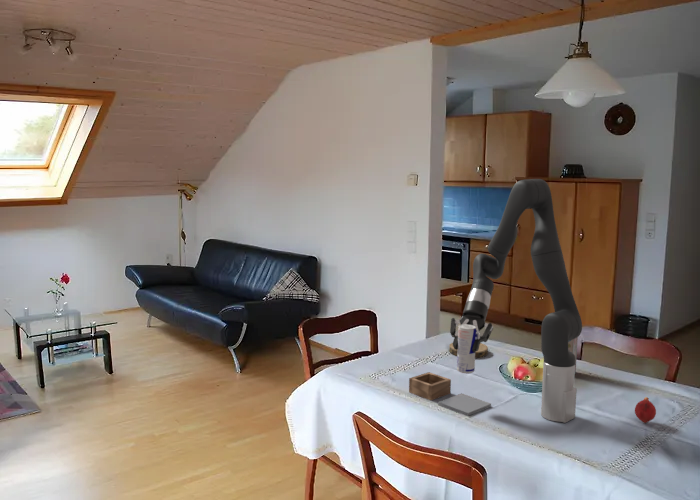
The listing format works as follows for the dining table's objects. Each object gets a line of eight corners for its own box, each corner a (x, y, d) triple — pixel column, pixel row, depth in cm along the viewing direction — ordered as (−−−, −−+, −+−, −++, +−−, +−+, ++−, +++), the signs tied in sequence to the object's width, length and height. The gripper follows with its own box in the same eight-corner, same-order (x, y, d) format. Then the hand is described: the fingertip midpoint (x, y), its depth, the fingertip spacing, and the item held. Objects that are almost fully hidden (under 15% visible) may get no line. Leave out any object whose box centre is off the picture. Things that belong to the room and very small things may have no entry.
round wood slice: (479, 361, 244) (479, 354, 244) (442, 354, 253) (443, 347, 253) (493, 351, 258) (493, 344, 257) (458, 345, 266) (458, 339, 266)
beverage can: (474, 374, 193) (476, 329, 190) (456, 373, 194) (458, 327, 192) (474, 369, 198) (476, 324, 196) (457, 367, 199) (458, 323, 197)
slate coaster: (491, 406, 197) (491, 403, 196) (467, 416, 189) (467, 413, 189) (461, 396, 206) (461, 393, 205) (438, 404, 198) (438, 401, 198)
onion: (654, 428, 180) (655, 402, 179) (632, 424, 183) (634, 398, 182) (656, 421, 185) (657, 396, 184) (635, 417, 188) (637, 392, 187)
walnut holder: (450, 393, 208) (450, 379, 207) (430, 400, 201) (431, 386, 201) (428, 385, 215) (428, 372, 215) (408, 392, 209) (409, 378, 208)
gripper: (454, 297, 203) (440, 340, 194) (496, 301, 196) (484, 347, 187) (458, 309, 208) (445, 352, 199) (500, 314, 201) (488, 359, 192)
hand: (464, 349), depth 193 cm, fingers closed on beverage can, 5 cm apart
